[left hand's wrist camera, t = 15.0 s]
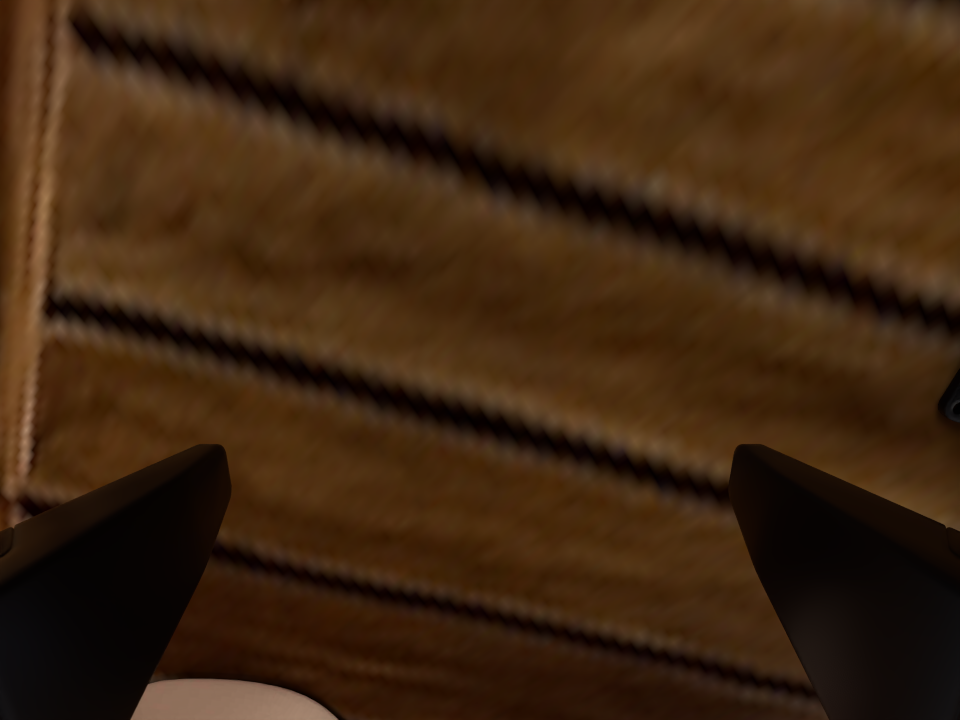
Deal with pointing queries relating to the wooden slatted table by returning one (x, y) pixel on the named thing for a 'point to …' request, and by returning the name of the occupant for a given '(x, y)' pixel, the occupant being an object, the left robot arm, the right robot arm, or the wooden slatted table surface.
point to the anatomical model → (225, 702)
